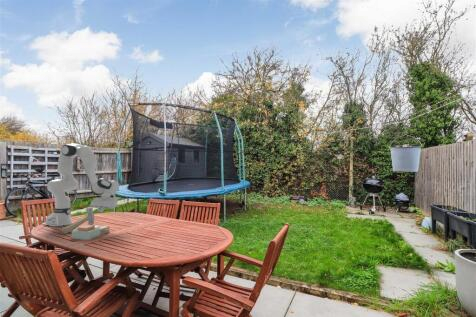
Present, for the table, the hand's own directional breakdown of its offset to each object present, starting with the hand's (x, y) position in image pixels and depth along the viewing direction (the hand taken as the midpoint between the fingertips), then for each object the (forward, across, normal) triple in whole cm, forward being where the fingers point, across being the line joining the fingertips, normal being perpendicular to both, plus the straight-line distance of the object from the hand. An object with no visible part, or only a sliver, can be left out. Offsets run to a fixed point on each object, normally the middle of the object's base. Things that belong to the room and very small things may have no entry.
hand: (99, 212), depth 228 cm
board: (+13, 0, +9) cm, 16 cm away
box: (+22, +1, 0) cm, 22 cm away
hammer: (+10, -19, +13) cm, 25 cm away
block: (+15, +1, 0) cm, 15 cm away
